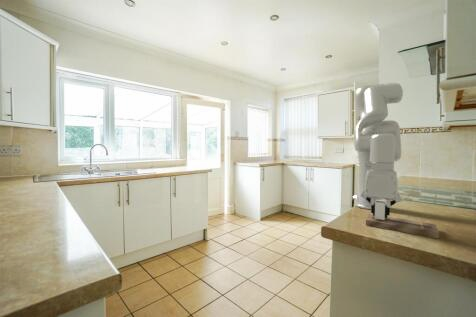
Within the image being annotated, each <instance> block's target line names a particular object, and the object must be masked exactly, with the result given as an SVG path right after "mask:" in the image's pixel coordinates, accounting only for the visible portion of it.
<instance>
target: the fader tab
mask: <svg viewBox="0 0 476 317" xmlns="http://www.w3.org/2000/svg"><path fill="white" fill-rule="evenodd" d="M385 206H386V200H382V199H381V200H376V202H375V219H381V220H385Z"/></svg>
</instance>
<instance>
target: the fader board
mask: <svg viewBox="0 0 476 317" xmlns="http://www.w3.org/2000/svg"><path fill="white" fill-rule="evenodd" d="M365 226H369V227H373V228H378V229H379V228H380V229H384V230H390V231H395V232H401V233H406V234H412V235H417V236H423V237H429V238H433V239H440V231H439V229H438V227H437V224H435V223H429V222H423V221H418V220H417V221H416V220H409V219H404V218H398V217H391V216H387V218H385V220H381V219H375V216H373V213H368V215H367V217H366V219H365Z"/></svg>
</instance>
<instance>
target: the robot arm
mask: <svg viewBox="0 0 476 317" xmlns="http://www.w3.org/2000/svg"><path fill="white" fill-rule="evenodd" d="M403 96H404V90H403V87H402V85H401V84H400V83H398V82H388V83H377V84H369V85H363V86H360V87H358V88H357V89H355V92H354V100H355V105H356V108H357V111H358V112H359V115H360V116H359V117H360V119H359V121H358V122H357V123H356V125H355V127H354V131H353V146H354V150H355V151H356V152H357V156H358V166H359V167H358V169H359V170H358V173H359V174H358V195H357V194H354V195H353V196H352V199H353V200H356V201H355V203H354V205H355V207H358V208H360V209H365V210H370V214H372V215H373V216H375V202H376V200H382V199H384V200H385V201H386V206H385V218H387V217H390V214H391V213H390V212H391V207H392V206H393V205H395V204H397V203H401V202H403V198H402V196H401V194H400V193H399V184H398V182H399V181H398V174H397V171H395V162H398V161H400V160H401V157H402V144H401V143H402V142H401V141H402V140H401V129H400V125H399V123H398V122H397V121H396V120H391V119H388V120H386V119H387V117H388V116H389V110H388V105H389V104H399V103H400V102H401V101H402V99H403Z"/></svg>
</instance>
